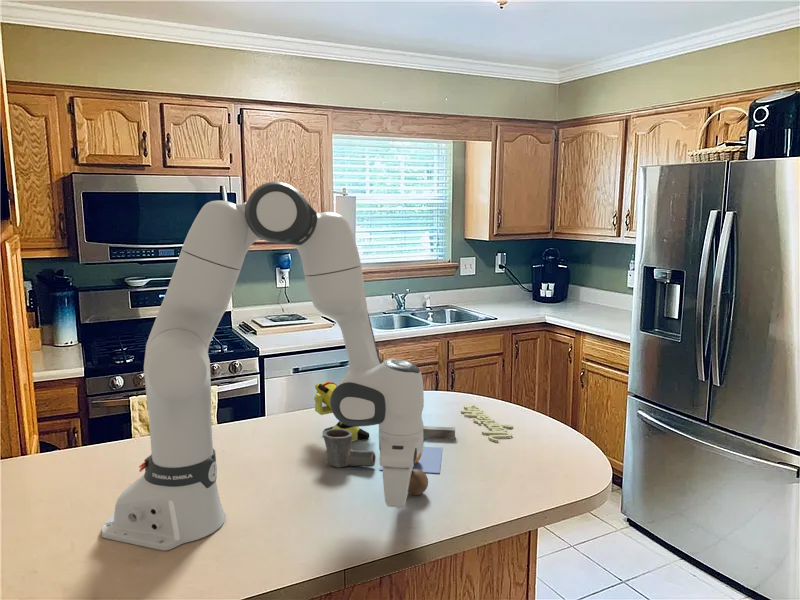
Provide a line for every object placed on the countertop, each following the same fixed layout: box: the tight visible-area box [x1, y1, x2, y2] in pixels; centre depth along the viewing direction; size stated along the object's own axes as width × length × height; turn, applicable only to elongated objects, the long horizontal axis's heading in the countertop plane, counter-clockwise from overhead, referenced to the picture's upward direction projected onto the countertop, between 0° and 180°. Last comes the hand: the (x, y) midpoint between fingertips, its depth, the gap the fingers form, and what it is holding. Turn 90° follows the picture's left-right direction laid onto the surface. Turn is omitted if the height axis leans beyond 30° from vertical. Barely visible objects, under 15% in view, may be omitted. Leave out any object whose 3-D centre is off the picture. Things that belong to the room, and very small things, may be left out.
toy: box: [313, 378, 370, 442], centre depth 161 cm, size 17×14×15 cm
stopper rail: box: [423, 425, 456, 440], centre depth 161 cm, size 20×2×2 cm, turn 84°
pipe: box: [321, 429, 376, 468], centre depth 143 cm, size 6×13×8 cm, turn 77°
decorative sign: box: [460, 404, 514, 443], centre depth 171 cm, size 26×1×10 cm
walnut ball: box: [407, 469, 429, 496], centre depth 130 cm, size 5×5×5 cm
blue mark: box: [379, 446, 443, 475], centre depth 147 cm, size 14×14×1 cm
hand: (400, 505), depth 123 cm, fingers closed
